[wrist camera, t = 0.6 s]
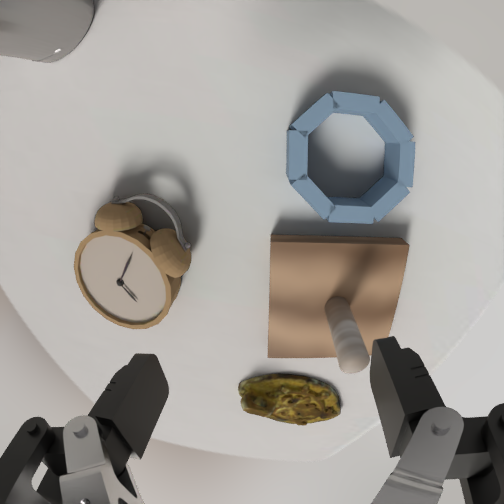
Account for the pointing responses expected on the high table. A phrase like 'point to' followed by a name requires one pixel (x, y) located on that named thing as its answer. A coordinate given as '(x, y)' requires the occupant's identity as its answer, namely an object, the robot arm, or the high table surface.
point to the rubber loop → (395, 159)
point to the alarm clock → (132, 264)
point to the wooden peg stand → (333, 296)
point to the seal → (289, 398)
